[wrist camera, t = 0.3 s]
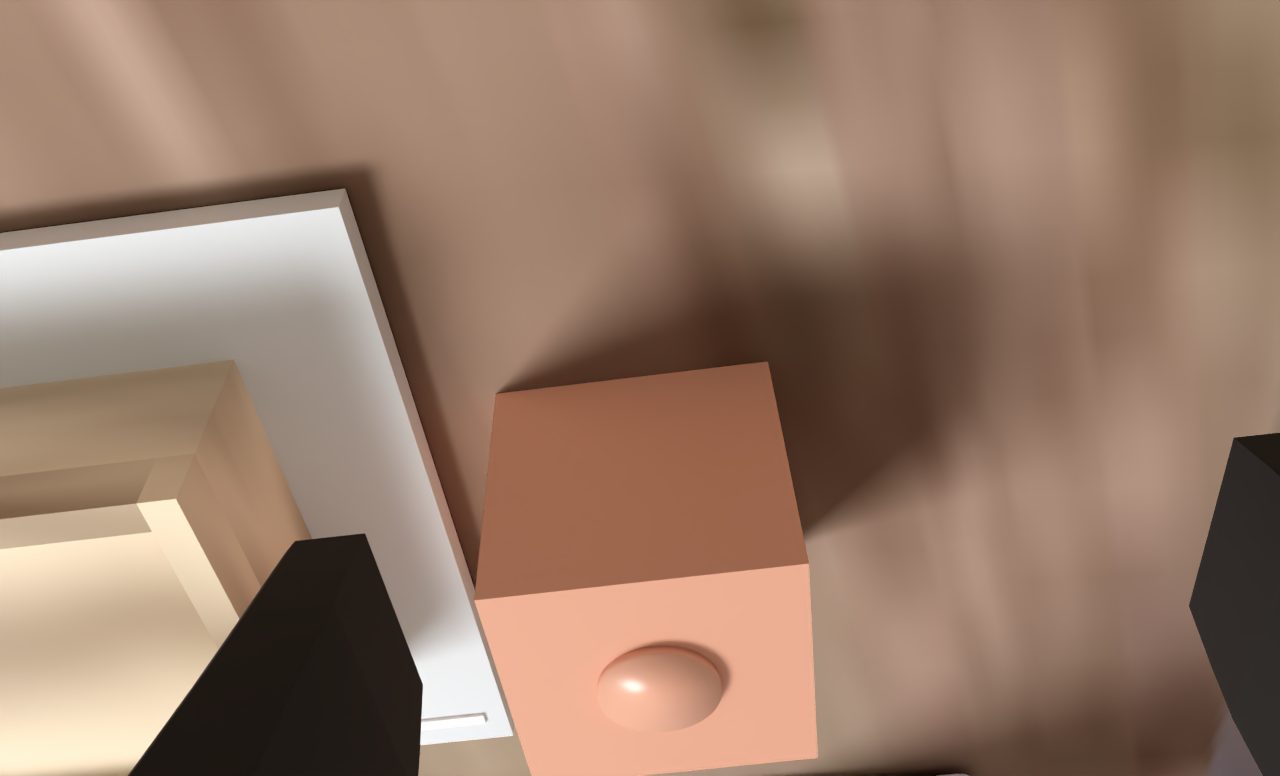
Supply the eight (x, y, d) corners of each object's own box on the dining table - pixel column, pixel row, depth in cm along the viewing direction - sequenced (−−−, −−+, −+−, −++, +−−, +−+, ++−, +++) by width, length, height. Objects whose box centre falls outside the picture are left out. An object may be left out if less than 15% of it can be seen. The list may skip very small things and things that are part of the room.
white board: (514, 713, 27) (513, 738, 26) (24, 764, 27) (13, 789, 27) (345, 188, 18) (338, 209, 17) (-369, 280, 19) (-397, 303, 18)
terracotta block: (780, 547, 24) (819, 768, 20) (543, 573, 24) (534, 796, 20) (767, 358, 21) (810, 573, 16) (496, 391, 21) (473, 611, 17)
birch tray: (373, 678, 25) (346, 821, 22) (-15, 719, 25) (-87, 865, 22) (233, 359, 19) (176, 499, 17) (-258, 419, 20) (-391, 564, 17)
